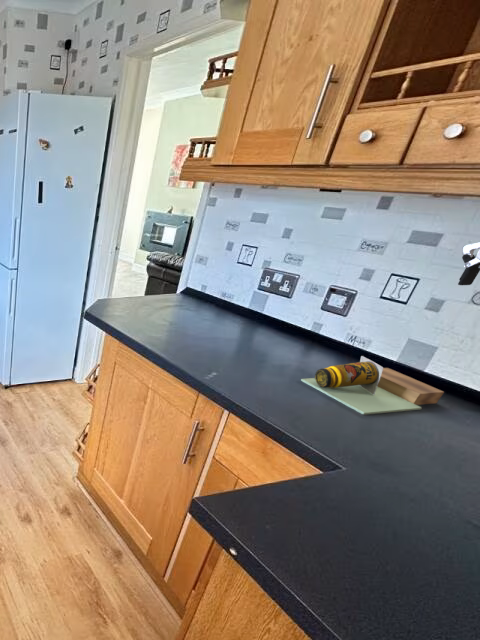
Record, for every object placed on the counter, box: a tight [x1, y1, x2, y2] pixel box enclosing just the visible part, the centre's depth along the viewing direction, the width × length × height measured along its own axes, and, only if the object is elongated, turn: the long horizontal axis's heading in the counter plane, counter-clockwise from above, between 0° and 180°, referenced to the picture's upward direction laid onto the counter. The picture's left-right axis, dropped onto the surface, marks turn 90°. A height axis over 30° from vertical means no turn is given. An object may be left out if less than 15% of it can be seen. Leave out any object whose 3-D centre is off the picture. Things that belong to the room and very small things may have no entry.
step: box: [377, 367, 445, 406], centre depth 113 cm, size 8×14×4 cm, turn 10°
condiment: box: [314, 355, 384, 395], centre depth 113 cm, size 7×8×12 cm
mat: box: [300, 377, 423, 416], centre depth 112 cm, size 18×18×1 cm
